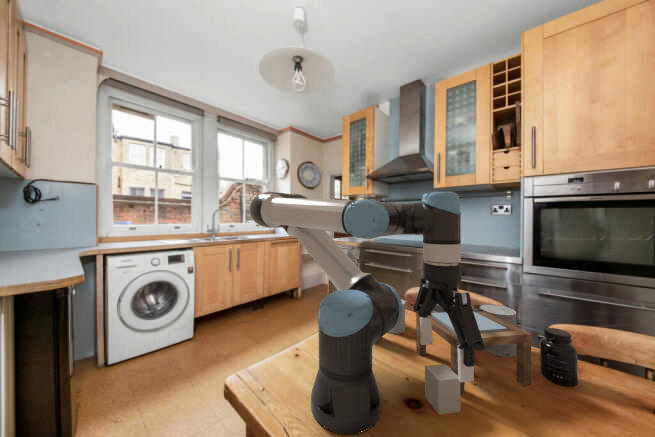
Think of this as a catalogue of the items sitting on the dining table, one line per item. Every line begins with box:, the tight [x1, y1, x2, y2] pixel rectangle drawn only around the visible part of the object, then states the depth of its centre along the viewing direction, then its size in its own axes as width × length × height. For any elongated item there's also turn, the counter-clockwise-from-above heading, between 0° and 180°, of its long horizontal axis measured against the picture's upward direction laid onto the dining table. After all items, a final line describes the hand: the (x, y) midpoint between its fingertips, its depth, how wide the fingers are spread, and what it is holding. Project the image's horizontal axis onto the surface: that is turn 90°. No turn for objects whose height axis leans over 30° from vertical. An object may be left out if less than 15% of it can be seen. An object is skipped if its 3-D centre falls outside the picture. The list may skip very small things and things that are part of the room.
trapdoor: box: [430, 304, 507, 334], centre depth 70 cm, size 14×20×4 cm
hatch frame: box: [415, 301, 533, 395], centre depth 65 cm, size 20×18×14 cm
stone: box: [424, 363, 461, 415], centre depth 52 cm, size 5×5×7 cm
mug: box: [387, 299, 406, 335], centre depth 89 cm, size 11×10×10 cm
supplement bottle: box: [539, 327, 579, 389], centre depth 60 cm, size 7×7×12 cm
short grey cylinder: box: [480, 303, 517, 358], centre depth 74 cm, size 10×10×12 cm
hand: (443, 359), depth 52 cm, fingers open, 13 cm apart
